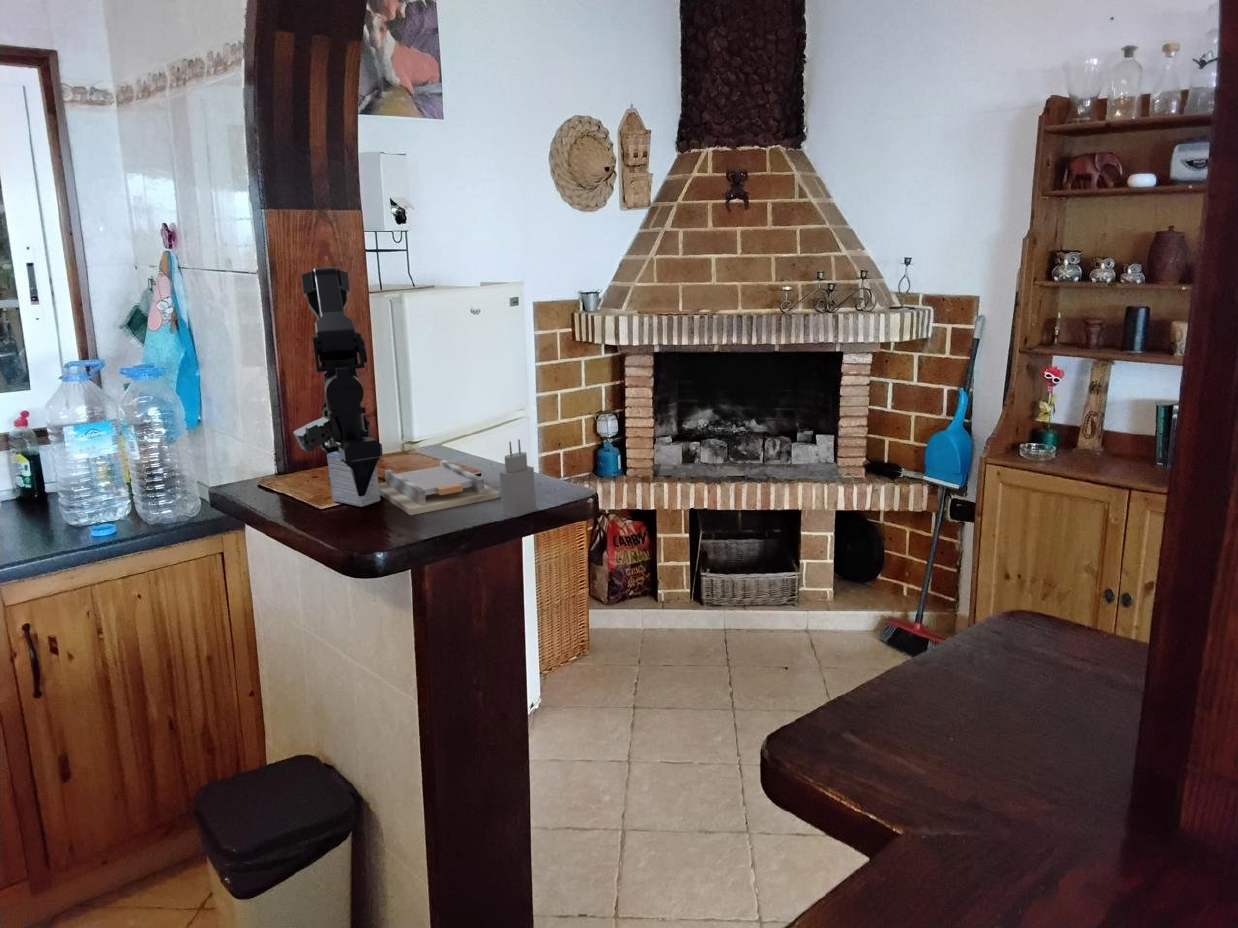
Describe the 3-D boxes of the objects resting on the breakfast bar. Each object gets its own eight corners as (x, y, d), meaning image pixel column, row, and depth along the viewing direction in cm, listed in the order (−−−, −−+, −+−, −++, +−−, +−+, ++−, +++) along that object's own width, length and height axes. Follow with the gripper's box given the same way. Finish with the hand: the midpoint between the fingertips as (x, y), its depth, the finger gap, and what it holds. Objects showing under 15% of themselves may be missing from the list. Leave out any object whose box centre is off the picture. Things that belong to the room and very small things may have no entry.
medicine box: (381, 501, 160) (376, 452, 158) (360, 508, 157) (354, 458, 154) (352, 495, 165) (347, 447, 162) (331, 501, 161) (325, 453, 159)
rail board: (373, 489, 168) (370, 471, 167) (455, 475, 176) (454, 457, 175) (410, 515, 151) (408, 494, 151) (499, 497, 159) (498, 478, 159)
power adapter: (538, 509, 151) (533, 438, 149) (512, 517, 148) (507, 444, 145) (525, 506, 154) (521, 436, 151) (500, 514, 150) (495, 442, 147)
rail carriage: (396, 479, 167) (395, 473, 167) (443, 470, 171) (442, 465, 171) (426, 497, 154) (425, 492, 154) (476, 488, 158) (476, 482, 158)
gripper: (282, 400, 160) (293, 487, 164) (308, 415, 144) (320, 511, 148) (346, 392, 165) (355, 476, 169) (378, 406, 150) (388, 498, 154)
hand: (353, 490), depth 160 cm, fingers closed on medicine box, 9 cm apart
